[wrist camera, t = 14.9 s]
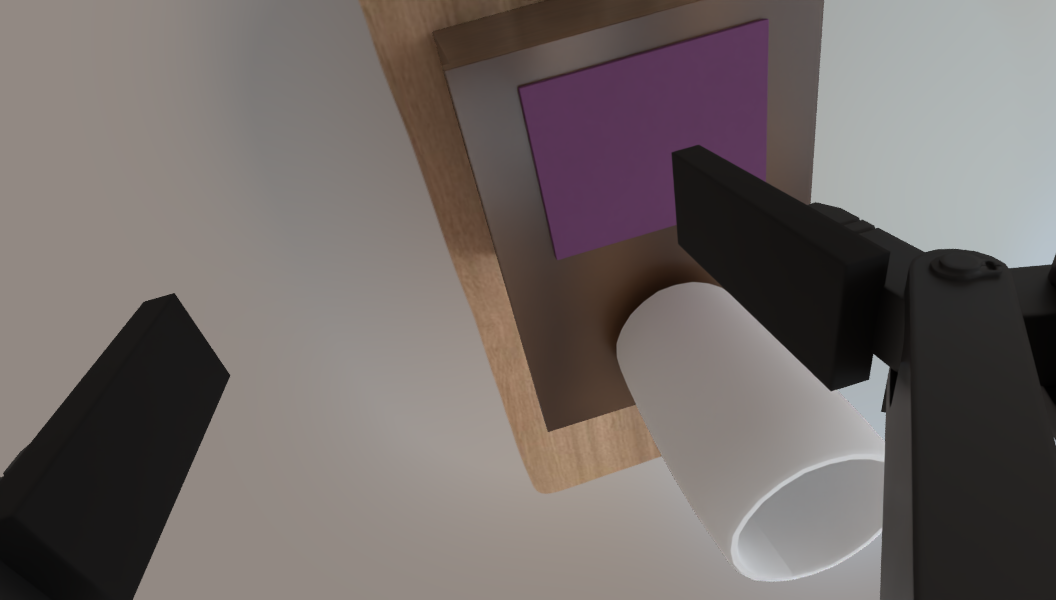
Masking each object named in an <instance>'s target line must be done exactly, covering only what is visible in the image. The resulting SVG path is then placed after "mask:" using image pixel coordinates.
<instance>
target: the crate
mask: <svg viewBox="0 0 1056 600" xmlns="http://www.w3.org/2000/svg"><path fill="white" fill-rule="evenodd" d="M823 7H824V0H546V1H542V2H539V3H535V4H531V5H528V6H524V7H520V8H517V9H513V10H509V11H506V12H502V13H498V14H495V15H491V16H487V17H483V18H480V19H476V20H472V21H469V22H465V23H461V24H458V25H454V26H450V27H447V28H443V29H439V30H436V31H433V32H432V34H433V37H434V41H435V44H436V48H437V51H438V55H439V58H440V61H441V65H442V69H443V72H444V76H445V79H446V83H447V86H448V90H449V93H450V97H451V100H452V104H453V107H454V110H455V114H456V117H457V121H458V124H459V128H460V131H461V135H462V138H463V142H464V145H465V148H466V152H467V155H468V159H469V162H470V166H471V169H472V173H473V176H474V180H475V183H476V186H477V190H478V193H479V197H480V200H481V204H482V207H483V211H484V214H485V218H486V221H487V225H488V228H489V231H490V235H491V238H492V242H493V245H494V249H495V252H496V256H497V259H498V263H499V266H500V269H501V273H502V276H503V280H504V283H505V287H506V290H507V294H508V297H509V301H510V304H511V307H512V311H513V314H514V318H515V321H516V325H517V328H518V332H519V335H520V339H521V342H522V345H523V349H524V352H525V356H526V359H527V363H528V366H529V370H530V373H531V377H532V380H533V384H534V387H535V390H536V394H537V397H538V401H539V404H540V408H541V411H542V415H543V418H544V421H545V424H546V427H547V430H548V432H550V431H553V430H556V429H559V428H563V427H566V426H569V425H572V424H575V423H578V422H582V421H585V420H588V419H591V418H594V417H598V416H601V415H604V414H607V413H610V412H613V411H617V410H620V409H623V408H626V407H629V406H633V405H636V403H635V401H634V399H633V397H632V395H631V392H630V390H629V388H628V386H627V383H626V381H625V379H624V376H623V374H622V372H621V369H620V366H619V363H618V359H617V345H616V344H617V341H618V338H619V335H620V333H621V330H622V328H623V326H624V325H625V323H626V321H627V320H628V318H629V317H630V315H631V314H632V313H633V312H634V311H635V310H636V309H637V308H638V307H639V306H640V305H641V304H642V303H643V302H644V301H645V300H647V299H648V298H649V297H651V296H652V295H654V294H655V293H656V292H658V291H660V290H663V289H666V288H668V287H671V286H674V285H678V284H684V283H689V282H699V283H709V284H712V285H715V286H718V287H721V288H723V287H722V286H721V285H720V284H719V283H718V282H717V281H716V280H715V279H714V278H713V277H712V276H711V275H710V274H708V273H707V272H706V271H705V270H704V269H703V268H702V267H701V266H700V265H699V264H698V263H697V262H696V261H695V260H694V259H693V258H692V257H691V256H690V255H689V254H688V253H687V252H686V251H685V250H684V249H683V248H682V247H680V246H679V245H678V237H677V225H674V226H671V227H667V228H664V229H661V230H657V231H654V232H651V233H647V234H644V235H641V236H637V237H634V238H630V239H627V240H624V241H620V242H617V243H614V244H610V245H607V246H604V247H600V248H597V249H594V250H590V251H587V252H583V253H580V254H577V255H573V256H570V257H567V258H563V259H560V260H557V259H556V258H555V254H554V249H553V245H552V240H551V236H550V231H549V227H548V222H547V218H546V213H545V209H544V204H543V200H542V195H541V191H540V186H539V182H538V177H537V173H536V168H535V164H534V159H533V155H532V150H531V146H530V141H529V137H528V132H527V128H526V123H525V119H524V114H523V110H522V105H521V101H520V96H519V92H518V87H521V86H525V85H528V84H532V83H535V82H539V81H542V80H546V79H550V78H553V77H557V76H560V75H564V74H567V73H571V72H574V71H578V70H582V69H585V68H589V67H592V66H596V65H599V64H603V63H607V62H610V61H614V60H617V59H621V58H624V57H628V56H632V55H635V54H639V53H642V52H646V51H649V50H653V49H657V48H660V47H664V46H667V45H671V44H674V43H678V42H682V41H685V40H689V39H692V38H696V37H699V36H703V35H707V34H710V33H714V32H717V31H721V30H724V29H728V28H732V27H735V26H739V25H742V24H746V23H749V22H753V21H757V20H760V19H764V18H765V19H769V43H768V98H767V153H766V182H767V183H769V184H770V185H772V186H774V187H776V188H777V189H779V190H781V191H783V192H785V193H786V194H788V195H790V196H792V197H794V198H795V199H797V200H799V201H801V202H803V203H804V204H806V205H809V204H810V203H811V202H810V201H811V188H812V173H813V158H814V142H815V128H816V127H815V126H816V113H817V98H818V82H819V66H820V53H821V37H822V21H823ZM723 289H724V288H723ZM724 290H725V289H724Z"/></svg>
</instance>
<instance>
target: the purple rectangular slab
mask: <svg viewBox="0 0 1056 600" xmlns="http://www.w3.org/2000/svg"><path fill="white" fill-rule="evenodd" d="M768 43H769V19H765V18H764V19H760V20H757V21H753V22H749V23H746V24H742V25H739V26H735V27H732V28H728V29H724V30H721V31H717V32H714V33H710V34H707V35H703V36H699V37H696V38H692V39H689V40H685V41H682V42H678V43H674V44H671V45H667V46H664V47H660V48H657V49H653V50H649V51H646V52H642V53H639V54H635V55H632V56H628V57H624V58H621V59H617V60H614V61H610V62H607V63H603V64H599V65H596V66H592V67H589V68H585V69H582V70H578V71H574V72H571V73H567V74H564V75H560V76H557V77H553V78H550V79H546V80H542V81H539V82H535V83H532V84H528V85H525V86H521V87H518V92H519V96H520V101H521V105H522V110H523V114H524V119H525V123H526V128H527V132H528V137H529V141H530V146H531V150H532V155H533V159H534V164H535V168H536V173H537V177H538V182H539V186H540V191H541V195H542V200H543V204H544V209H545V213H546V218H547V222H548V227H549V231H550V236H551V240H552V245H553V249H554V254H555V258H556V259H557V260H560V259H563V258H567V257H570V256H573V255H577V254H580V253H583V252H587V251H590V250H594V249H597V248H600V247H604V246H607V245H610V244H614V243H617V242H620V241H624V240H627V239H630V238H634V237H637V236H641V235H644V234H647V233H651V232H654V231H657V230H661V229H664V228H667V227H671V226H674V225H677V223H676V209H675V195H674V181H673V168H672V154H671V152H674V151H678V150H681V149H685V148H688V147H692V146H695V145H701V146H702V147H704V148H706V149H708V150H710V151H711V152H713V153H715V154H717V155H719V156H720V157H722V158H724V159H726V160H727V161H729V162H731V163H733V164H735V165H736V166H738V167H740V168H742V169H744V170H745V171H747V172H749V173H751V174H752V175H754V176H756V177H758V178H760V179H761V180H763V181H765V182H766V153H767V98H768Z"/></svg>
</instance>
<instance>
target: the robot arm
mask: <svg viewBox="0 0 1056 600" xmlns="http://www.w3.org/2000/svg"><path fill="white" fill-rule="evenodd" d="M671 154H672V168H673V181H674V195H675V209H676V223H677V237H678V245H679V246H680V247H682V248H683V249H684V250H685V251H686V252H687V253H688V254H689V255H690V256H691V257H692V258H693V259H694V260H695V261H696V262H697V263H698V264H699V265H700V266H701V267H702V268H703V269H704V270H705V271H706V272H707V273H708V274H710V275H711V276H712V277H713V278H714V279H715V280H716V281H717V282H718V283H719V284H720V285H721V286H722V287H723V288H724V289H725V290H726V291H727V292H728V293H729V294H730V295H731V296H732V297H733V298H734V299H735V300H736V301H738V302H739V303H740V304H741V305H742V306H743V307H744V308H745V309H746V310H747V311H748V312H749V313H750V314H751V315H752V316H753V317H754V318H755V319H756V320H757V321H758V322H759V323H760V324H761V325H762V326H763V327H764V328H766V329H767V330H768V331H769V332H770V333H771V334H772V335H773V336H774V337H775V338H776V339H777V340H778V341H779V342H780V343H781V344H782V345H783V346H784V347H785V348H786V349H787V350H788V351H789V352H790V353H791V354H792V355H794V356H795V357H796V358H797V359H798V360H799V361H800V362H801V363H802V364H803V365H804V366H805V367H806V368H807V369H808V370H809V371H810V372H811V373H812V374H813V375H814V376H815V377H816V378H817V379H818V380H819V381H820V382H822V383H823V384H824V385H825V386H826V387H827V388H828V389H829V390H830V391H834V390H837V389H841V388H844V387H847V386H850V385H853V384H856V383H859V382H863V381H866V380H869V376H870V370H871V364H872V358H873V354H874V355H876V356H877V357H878V358H879V359H881V360H882V361H883V362H884V363H886V364H887V365H888V366H889V367H890V368H889V373H888V379H887V384H886V389H885V394H884V399H883V405H882V410H881V412H886V428H885V429H886V430H885V459H884V491H883V523H882V556H881V588H880V600H1056V445H1055V441H1054V438H1055V440H1056V255H1055V258H1054V260H1053V263H1052V265H1042V266H1030V267H1019V268H1008V267H1007V266H1006V264H1005V263H1003V262H1001V261H999V260H998V259H995V258H994V257H992V256H989V255H985V254H982V253H979V252H975V251H968V250H960V249H938V250H933V251H929V252H923V251H921V250H919V249H917V248H916V247H914V246H912V245H910V244H908V243H906V242H904V241H902V240H900V239H898V238H897V237H895V236H893V235H891V234H889V233H887V232H885V231H883V230H881V229H879V228H876V229H875V227H874V225H871V224H870V223H868V222H866V221H864V220H859V218H858V217H857V216H854V215H852V214H851V213H849V212H847V211H845V210H843V209H841V208H837V207H833V206H829V205H825V204H821V203H812V204H809V205H806V204H804V203H803V202H801V201H799V200H797V199H795V198H794V197H792V196H790V195H788V194H786V193H785V192H783V191H781V190H779V189H777V188H776V187H774V186H772V185H770V184H769V183H767V182H765V181H763V180H761V179H760V178H758V177H756V176H754V175H752V174H751V173H749V172H747V171H745V170H744V169H742V168H740V167H738V166H736V165H735V164H733V163H731V162H729V161H727V160H726V159H724V158H722V157H720V156H719V155H717V154H715V153H713V152H711V151H710V150H708V149H706V148H704V147H702V146H701V145H695V146H692V147H688V148H685V149H681V150H678V151H674V152H671ZM229 377H230V374H229V373H228V371H227V370H226V368H225V367H224V365H223V364H222V362H221V361H220V360H219V358H218V357H217V355H216V354H215V352H214V351H213V349H212V348H211V346H210V345H209V343H208V342H207V340H206V339H205V337H204V336H203V334H202V333H201V332H200V330H199V329H198V327H197V326H196V324H195V323H194V321H193V320H192V318H191V317H190V316H189V314H188V312H187V311H186V310H185V308H184V307H183V305H182V304H181V302H180V301H179V299H178V298H177V296H176V295H175V293H173V294H170V295H166V296H163V297H159V298H156V299H152V300H148V301H145V302H143V303H142V305H141V306H140V308H139V309H138V310H137V311H136V312H135V314H134V315H133V316H132V317H131V318H130V320H129V321H128V322H127V323H126V325H125V326H124V327H123V329H122V330H121V331H120V332H119V333H118V335H117V336H116V337H115V338H114V340H113V341H112V342H111V343H110V345H109V346H108V347H107V349H106V350H105V351H104V352H103V353H102V355H101V356H100V357H99V358H98V360H97V361H96V362H95V363H94V365H93V366H92V367H91V368H90V370H89V371H88V372H87V373H86V375H85V376H84V377H83V378H82V379H81V381H80V382H79V383H78V385H77V386H76V387H75V388H74V389H73V391H72V392H71V393H70V394H69V396H68V397H67V398H66V399H65V401H64V402H63V403H62V405H61V406H60V407H59V408H58V409H57V411H56V412H55V413H54V414H53V416H52V417H51V418H50V419H49V421H48V422H47V423H46V424H45V426H44V427H43V428H42V429H41V431H40V432H39V433H38V434H37V436H36V437H35V438H34V439H33V441H32V442H31V443H30V444H29V445H28V446H27V447H26V448H24V449H23V450H22V451H21V452H20V453H19V454H18V456H17V457H16V458H15V460H14V461H13V462H12V463H11V464H10V465H9V467H8V468H7V469H6V470H5V472H4V473H3V474H4V477H0V600H133V598H134V595H135V593H136V591H137V588H138V586H139V584H140V581H141V579H142V577H143V575H144V572H145V570H146V568H147V566H148V563H149V561H150V559H151V556H152V554H153V552H154V549H155V547H156V545H157V543H158V540H159V538H160V535H161V533H162V531H163V529H164V526H165V524H166V522H167V519H168V517H169V515H170V512H171V510H172V508H173V506H174V503H175V501H176V499H177V497H178V494H179V492H180V490H181V487H182V484H183V483H184V480H185V478H186V476H187V474H188V471H189V469H190V467H191V464H192V462H193V460H194V457H195V455H196V453H197V451H198V448H199V446H200V444H201V441H202V439H203V437H204V434H205V432H206V430H207V428H208V425H209V423H210V421H211V418H212V416H213V414H214V412H215V409H216V407H217V405H218V403H219V400H220V398H221V396H222V393H223V391H224V389H225V386H226V384H227V382H228V379H229Z"/></svg>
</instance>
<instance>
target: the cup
mask: <svg viewBox="0 0 1056 600" xmlns="http://www.w3.org/2000/svg"><path fill="white" fill-rule="evenodd" d="M616 345H617V359H618V363H619V366H620V369H621V372H622V374H623V376H624V379H625V381H626V383H627V386H628V388H629V390H630V392H631V395H632V397H633V399H634V401H635V403H636V405H637V408H638V410H639V412H640V414H641V416H642V418H643V420H644V422H645V424H646V426H647V428H648V430H649V432H650V434H651V436H652V438H653V440H654V442H655V444H656V446H657V448H658V449H659V451H660V453H661V455H662V457H663V459H664V461H665V462H666V464H667V466H668V468H669V470H670V472H671V474H672V476H673V477H674V479H675V480H676V482H677V484H678V485H679V487H680V489H681V490H682V492H683V494H684V495H685V497H686V498H687V500H688V502H689V503H690V505H691V507H692V508H693V510H694V512H695V513H696V515H697V517H698V518H699V520H700V521H701V522H702V524H703V525H704V527H705V528H706V530H707V531H708V533H709V534H710V536H711V537H712V539H713V540H714V542H715V543H716V545H717V546H718V548H719V549H720V551H721V552H722V554H723V555H724V557H725V558H726V560H727V561H728V562H729V563H730V565H731V566H732V567H733V568H734V569H735V570H736V571H737V572H738V573H740V574H742V575H744V576H746V577H748V578H750V579H753V580H759V581H769V582H775V581H788V580H794V579H797V578H802V577H806V576H809V575H813V574H815V573H818V572H821V571H824V570H826V569H829V568H832V567H834V566H835V565H837V564H839V563H841V562H842V561H844V560H846V559H848V558H849V557H851V556H853V555H854V554H855V553H857V552H858V551H860V550H861V549H863V548H864V547H865V546H867V545H868V544H869V543H871V542H872V541H873V540H874V539H875V538H876V537H877V536H878V535H879V534H880V533H881V532H882V523H883V491H884V459H885V441H883V439H882V438H881V437H880V436H879V435H878V433H877V432H876V431H875V430H874V429H873V428H872V427H871V425H870V424H869V423H868V422H867V421H866V420H865V419H864V417H863V416H862V415H861V414H860V413H859V412H858V411H857V410H856V409H855V408H854V407H853V406H852V405H851V404H850V403H849V402H848V401H847V400H846V399H845V398H844V397H843V396H842V395H841V394H840V393H839V391H838V390H834V391H830V390H829V389H828V388H827V387H826V386H825V385H824V384H823V383H822V382H820V381H819V380H818V379H817V378H816V377H815V376H814V375H813V374H812V373H811V372H810V371H809V370H808V369H807V368H806V367H805V366H804V365H803V364H802V363H801V362H800V361H799V360H798V359H797V358H796V357H795V356H794V355H792V354H791V353H790V352H789V351H788V350H787V349H786V348H785V347H784V346H783V345H782V344H781V343H780V342H779V341H778V340H777V339H776V338H775V337H774V336H773V335H772V334H771V333H770V332H769V331H768V330H767V329H766V328H764V327H763V326H762V325H761V324H760V323H759V322H758V321H757V320H756V319H755V318H754V317H753V316H752V315H751V314H750V313H749V312H748V311H747V310H746V309H745V308H744V307H743V306H742V305H741V304H740V303H739V302H738V301H736V300H735V299H734V298H733V297H732V296H731V295H730V294H729V293H728V292H727V291H726V290H724V289H723V288H721V287H718V286H715V285H712V284H709V283H699V282H689V283H684V284H678V285H674V286H671V287H668V288H666V289H663V290H660V291H658V292H656V293H655V294H654V295H652V296H651V297H649V298H648V299H647V300H645V301H644V302H643V303H642V304H641V305H640V306H639V307H638V308H637V309H636V310H635V311H634V312H633V313H632V314H631V315H630V317H629V318H628V320H627V321H626V323H625V325H624V326H623V328H622V330H621V333H620V335H619V338H618V341H617V344H616Z"/></svg>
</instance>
